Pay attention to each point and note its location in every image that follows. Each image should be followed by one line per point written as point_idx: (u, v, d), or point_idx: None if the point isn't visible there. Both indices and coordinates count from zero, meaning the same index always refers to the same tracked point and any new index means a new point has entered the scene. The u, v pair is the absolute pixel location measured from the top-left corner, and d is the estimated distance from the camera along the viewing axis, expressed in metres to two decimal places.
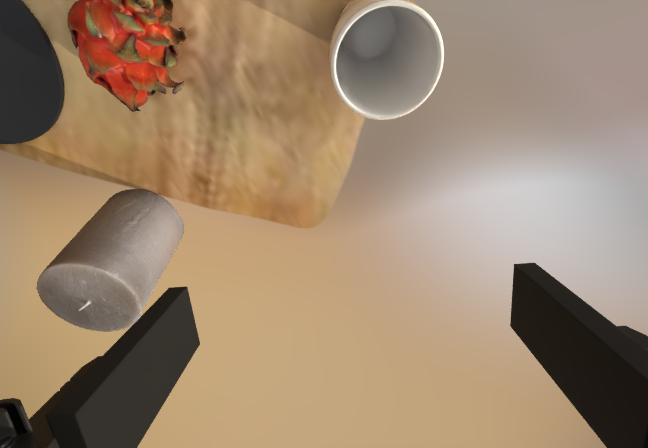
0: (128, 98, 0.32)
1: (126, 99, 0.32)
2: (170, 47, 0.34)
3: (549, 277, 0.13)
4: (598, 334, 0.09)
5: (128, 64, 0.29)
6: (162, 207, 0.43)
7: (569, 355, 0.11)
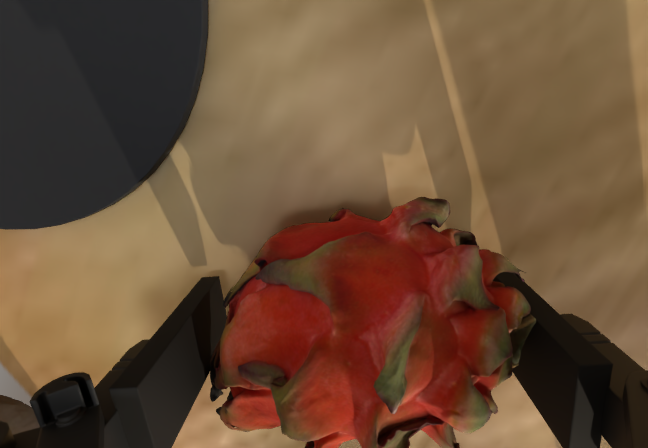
0: (248, 425, 0.12)
1: (241, 422, 0.12)
2: None
3: None
4: (540, 320, 0.10)
5: (350, 435, 0.10)
6: None
7: None
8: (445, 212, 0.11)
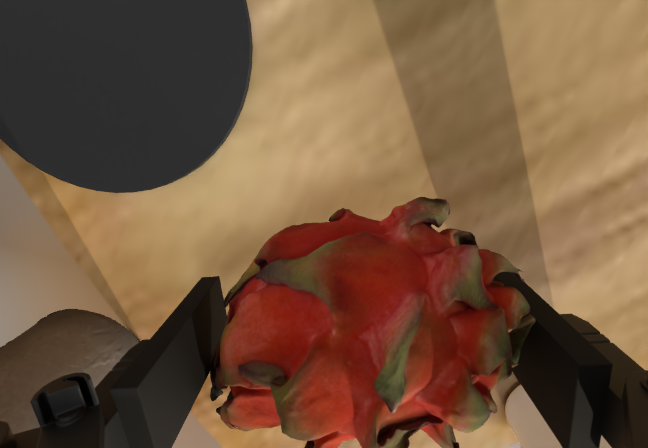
0: (248, 424, 0.12)
1: (241, 421, 0.12)
2: None
3: None
4: (540, 320, 0.10)
5: (349, 434, 0.10)
6: None
7: None
8: (445, 211, 0.11)
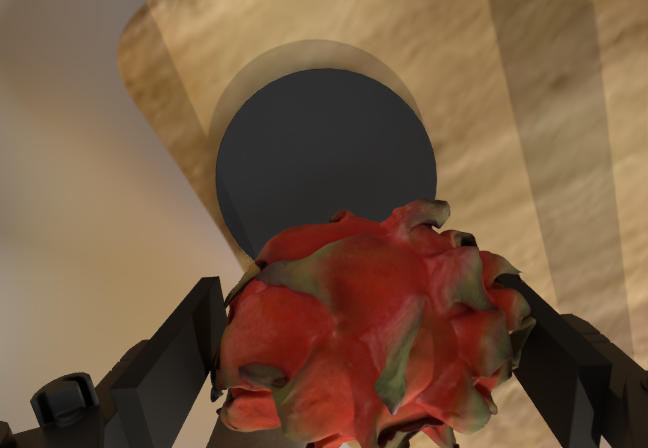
0: (248, 426, 0.12)
1: (241, 422, 0.12)
2: None
3: None
4: (540, 320, 0.10)
5: (350, 436, 0.10)
6: None
7: None
8: (445, 213, 0.11)
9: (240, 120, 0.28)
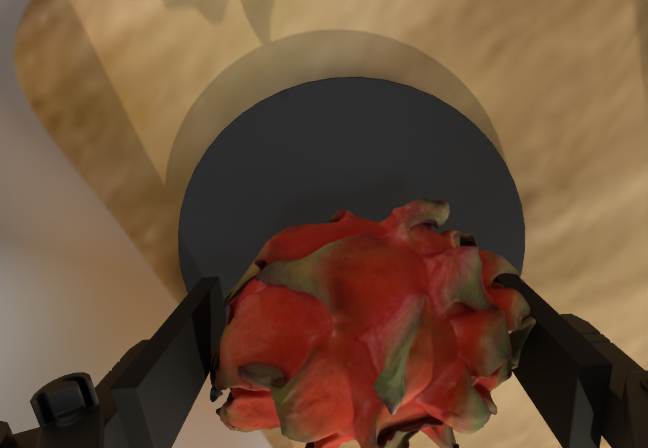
0: (248, 425, 0.12)
1: (241, 422, 0.12)
2: None
3: None
4: (540, 320, 0.10)
5: (349, 436, 0.10)
6: None
7: None
8: (445, 213, 0.11)
9: (214, 161, 0.18)
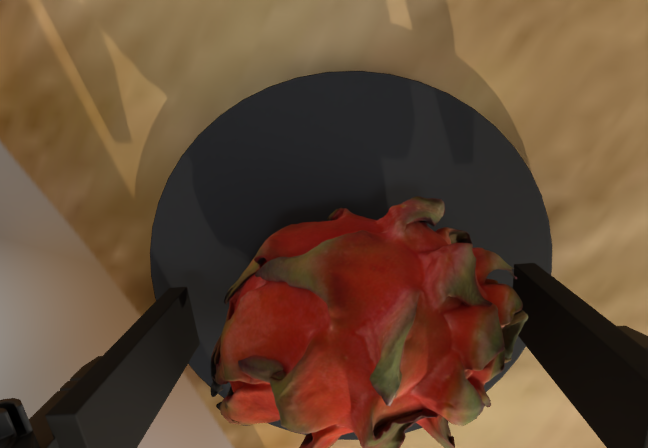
0: (247, 419, 0.12)
1: (241, 416, 0.12)
2: None
3: (549, 277, 0.13)
4: (598, 334, 0.09)
5: (347, 428, 0.10)
6: None
7: (569, 354, 0.11)
8: (440, 210, 0.12)
9: (190, 169, 0.15)
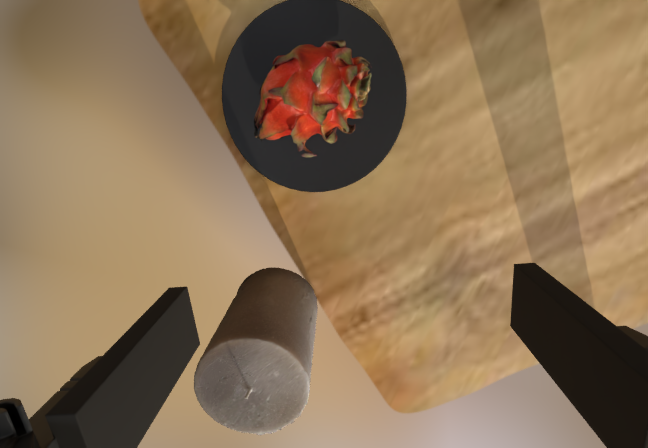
0: (271, 130, 0.31)
1: (268, 129, 0.31)
2: None
3: (549, 277, 0.13)
4: (598, 334, 0.09)
5: (307, 115, 0.29)
6: (316, 313, 0.41)
7: (568, 354, 0.11)
8: (343, 43, 0.31)
9: (241, 44, 0.34)
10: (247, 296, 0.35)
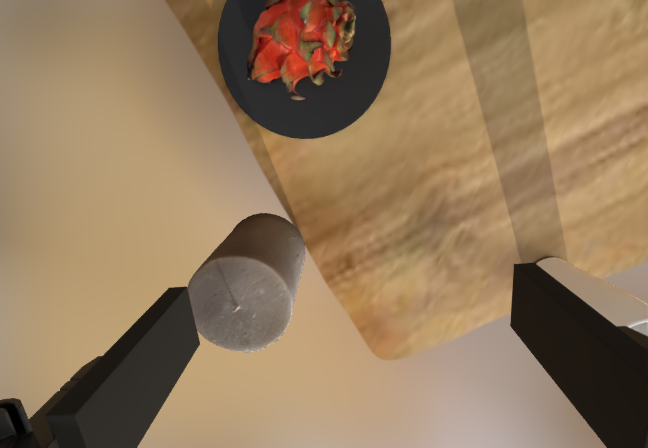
0: (262, 69, 0.33)
1: (259, 68, 0.34)
2: None
3: (549, 277, 0.13)
4: (598, 334, 0.09)
5: (295, 53, 0.32)
6: (304, 257, 0.43)
7: (569, 355, 0.11)
8: None
9: None
10: (238, 231, 0.38)
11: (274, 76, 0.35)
